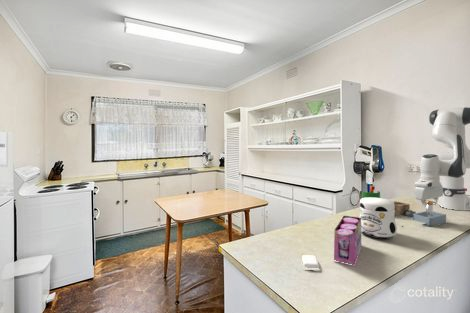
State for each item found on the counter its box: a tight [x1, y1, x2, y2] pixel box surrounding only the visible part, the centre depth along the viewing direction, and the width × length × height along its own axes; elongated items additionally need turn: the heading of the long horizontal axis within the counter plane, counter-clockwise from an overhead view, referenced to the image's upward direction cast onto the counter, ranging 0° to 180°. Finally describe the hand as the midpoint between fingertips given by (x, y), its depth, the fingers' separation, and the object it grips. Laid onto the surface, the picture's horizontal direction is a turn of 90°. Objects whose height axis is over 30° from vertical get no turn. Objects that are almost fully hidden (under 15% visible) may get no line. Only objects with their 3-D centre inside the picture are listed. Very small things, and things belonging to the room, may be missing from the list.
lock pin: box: [425, 200, 434, 218], centre depth 136 cm, size 4×4×12 cm
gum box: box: [333, 215, 362, 266], centre depth 102 cm, size 24×8×14 cm, turn 145°
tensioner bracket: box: [393, 200, 417, 219], centre depth 149 cm, size 12×16×8 cm
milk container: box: [358, 197, 398, 239], centre depth 122 cm, size 17×17×18 cm
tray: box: [412, 210, 447, 228], centre depth 136 cm, size 15×9×5 cm, turn 112°
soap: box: [301, 254, 320, 268], centre depth 94 cm, size 9×7×3 cm
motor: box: [361, 185, 381, 199], centre depth 153 cm, size 10×9×20 cm
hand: (429, 205), depth 136 cm, fingers open, 8 cm apart
